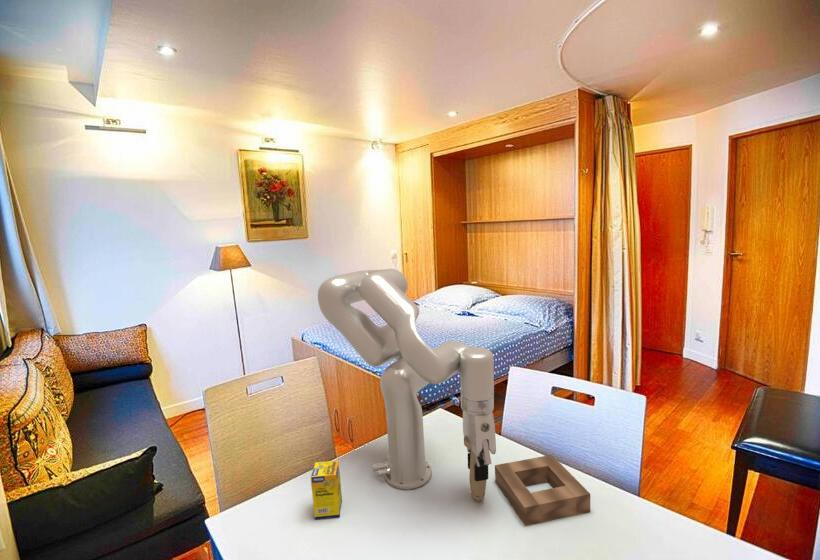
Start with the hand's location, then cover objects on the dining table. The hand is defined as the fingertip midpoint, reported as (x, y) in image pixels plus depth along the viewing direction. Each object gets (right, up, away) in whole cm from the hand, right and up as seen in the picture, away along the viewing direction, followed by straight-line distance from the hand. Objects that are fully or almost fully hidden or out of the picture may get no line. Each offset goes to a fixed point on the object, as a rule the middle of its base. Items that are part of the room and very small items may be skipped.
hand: (477, 473), depth 96 cm
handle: (0, -6, +1) cm, 6 cm away
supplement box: (-35, -9, +1) cm, 37 cm away
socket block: (+15, -6, +1) cm, 16 cm away
